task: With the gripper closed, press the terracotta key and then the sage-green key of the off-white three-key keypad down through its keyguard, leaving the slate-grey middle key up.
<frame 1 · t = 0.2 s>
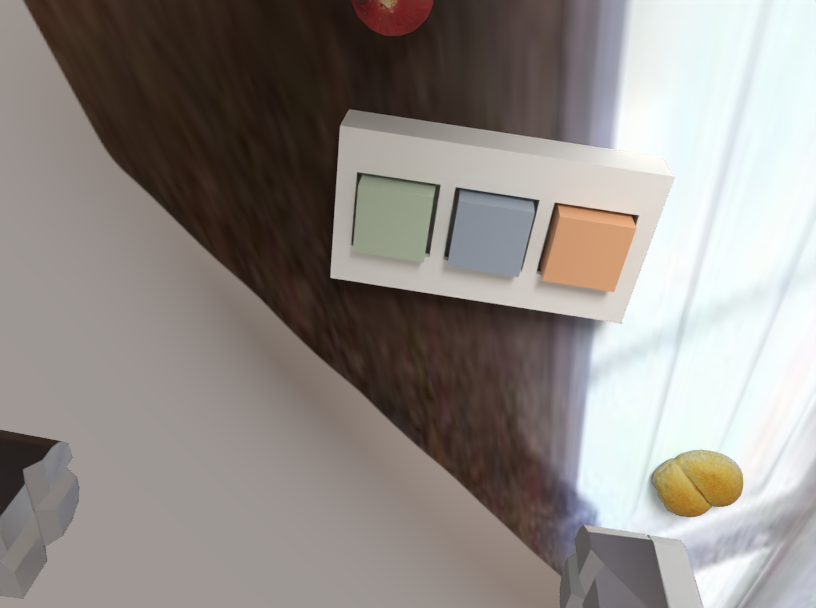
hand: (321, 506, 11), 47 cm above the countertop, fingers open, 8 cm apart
bread roll: (693, 473, 75), on the countertop
key slate: (489, 231, 56), point 4 cm above the countertop, slide at 0.0 cm
keypad: (489, 209, 60), on the countertop
key sage: (394, 216, 56), point 4 cm above the countertop, slide at 0.0 cm
key terracotta: (585, 246, 56), point 4 cm above the countertop, slide at 0.0 cm
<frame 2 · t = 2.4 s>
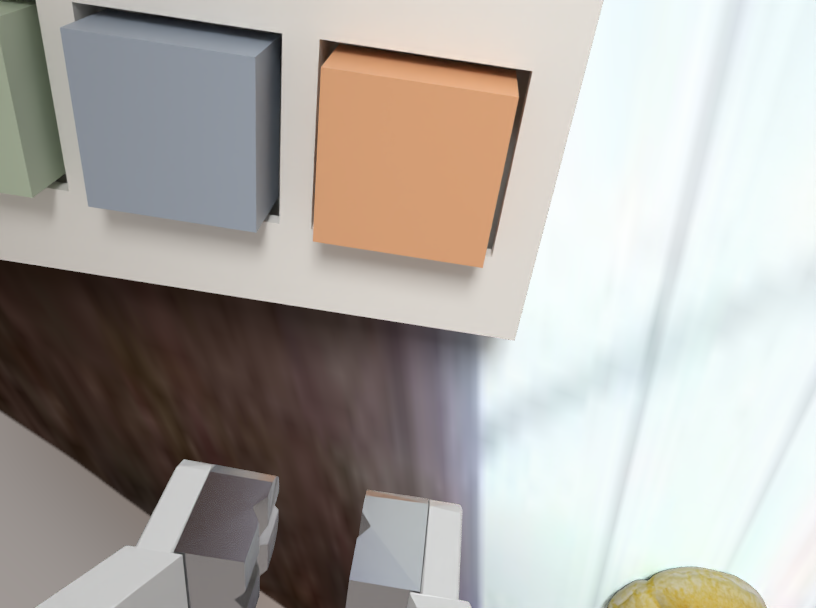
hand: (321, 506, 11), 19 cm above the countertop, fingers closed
bread roll: (678, 601, 42), on the countertop
key slate: (182, 122, 23), point 4 cm above the countertop, slide at 0.0 cm
keypad: (221, 88, 27), on the countertop
key terracotta: (412, 157, 23), point 4 cm above the countertop, slide at 0.0 cm
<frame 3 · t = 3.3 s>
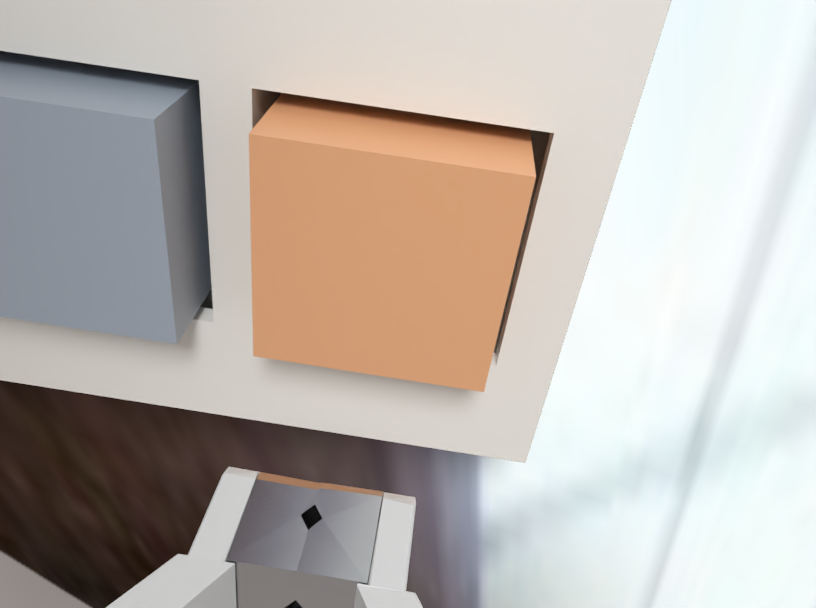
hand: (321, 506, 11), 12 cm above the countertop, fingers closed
key slate: (72, 196, 17), point 4 cm above the countertop, slide at 0.0 cm
keypad: (141, 137, 20), on the countertop
key terracotta: (386, 244, 17), point 4 cm above the countertop, slide at 0.0 cm
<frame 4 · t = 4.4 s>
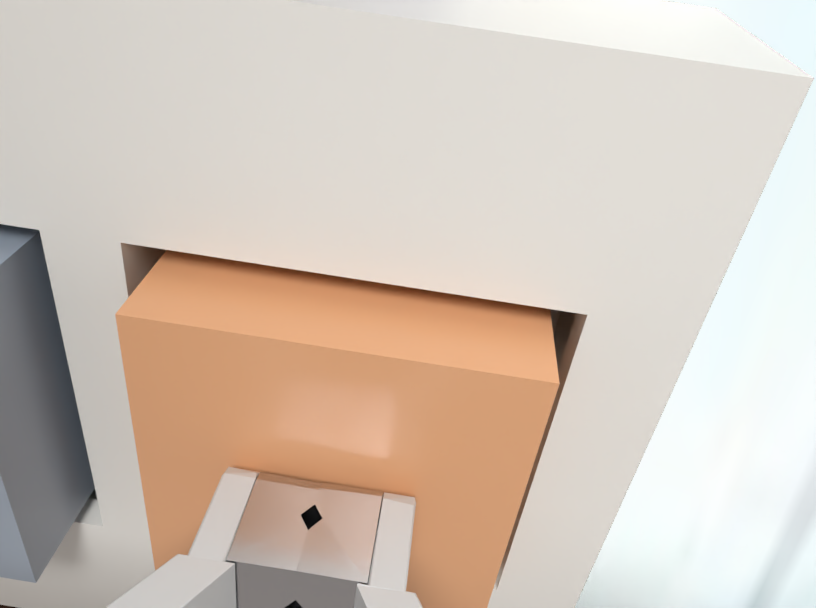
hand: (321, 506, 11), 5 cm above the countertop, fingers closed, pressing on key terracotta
keypad: (17, 257, 15), on the countertop
key terracotta: (342, 429, 12), point 4 cm above the countertop, slide at 0.5 cm, touching gripper
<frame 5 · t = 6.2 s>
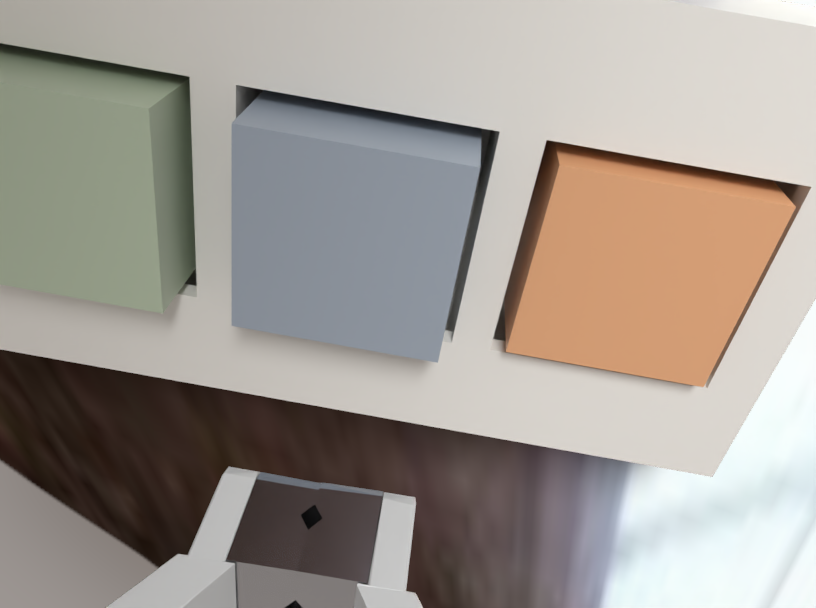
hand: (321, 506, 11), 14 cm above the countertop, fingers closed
key slate: (353, 228, 19), point 4 cm above the countertop, slide at 0.0 cm
keypad: (374, 171, 22), on the countertop
key sage: (73, 178, 19), point 4 cm above the countertop, slide at 0.0 cm
key terracotta: (628, 259, 20), point 3 cm above the countertop, slide at 1.1 cm
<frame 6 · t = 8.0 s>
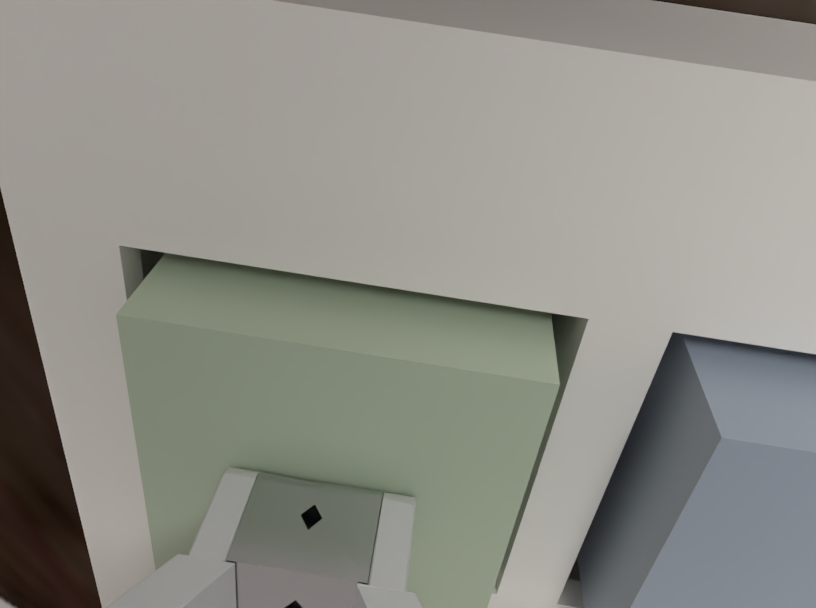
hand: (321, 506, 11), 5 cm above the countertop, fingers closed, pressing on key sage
key slate: (807, 527, 11), point 4 cm above the countertop, slide at 0.0 cm
keypad: (735, 371, 15), on the countertop
key sage: (342, 429, 12), point 4 cm above the countertop, slide at 0.5 cm, touching gripper
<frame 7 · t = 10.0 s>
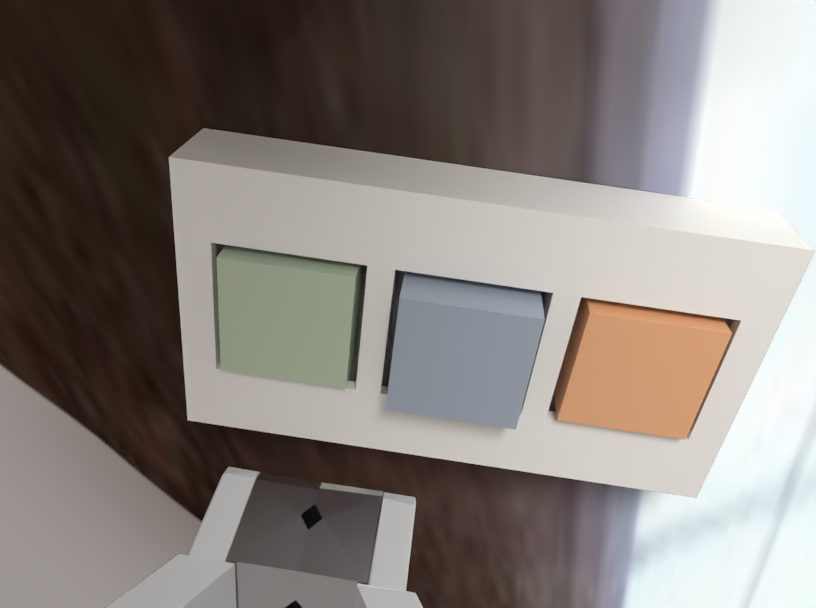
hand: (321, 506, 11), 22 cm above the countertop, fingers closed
key slate: (461, 347, 31), point 4 cm above the countertop, slide at 0.0 cm
keypad: (463, 301, 34), on the countertop
key sage: (292, 308, 32), point 3 cm above the countertop, slide at 1.1 cm
key terracotta: (633, 359, 31), point 3 cm above the countertop, slide at 1.1 cm
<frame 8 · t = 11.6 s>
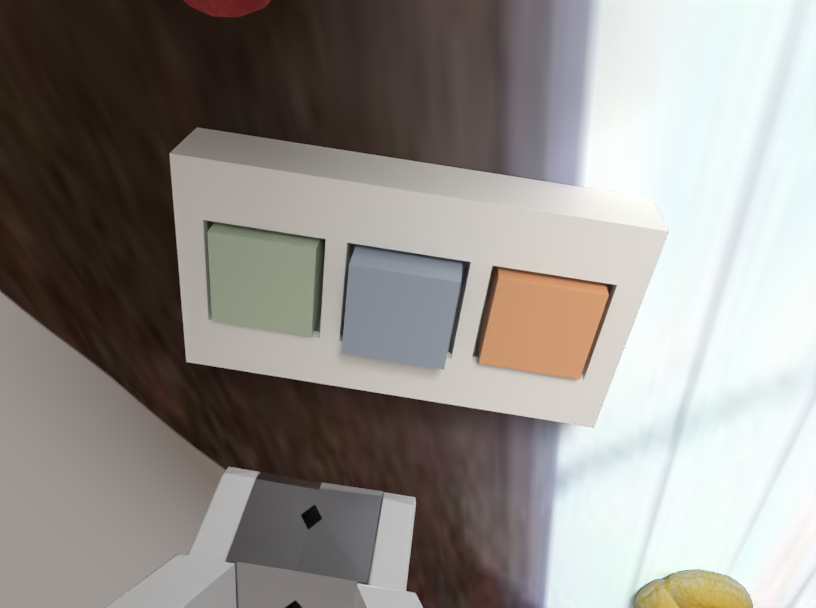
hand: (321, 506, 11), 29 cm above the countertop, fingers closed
bread roll: (687, 595, 58), on the countertop
key slate: (401, 304, 39), point 4 cm above the countertop, slide at 0.0 cm
keypad: (408, 268, 42), on the countertop
key sage: (268, 272, 40), point 3 cm above the countertop, slide at 1.1 cm
key terracotta: (539, 315, 40), point 3 cm above the countertop, slide at 1.1 cm
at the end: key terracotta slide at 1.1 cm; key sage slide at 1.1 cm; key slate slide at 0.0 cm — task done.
